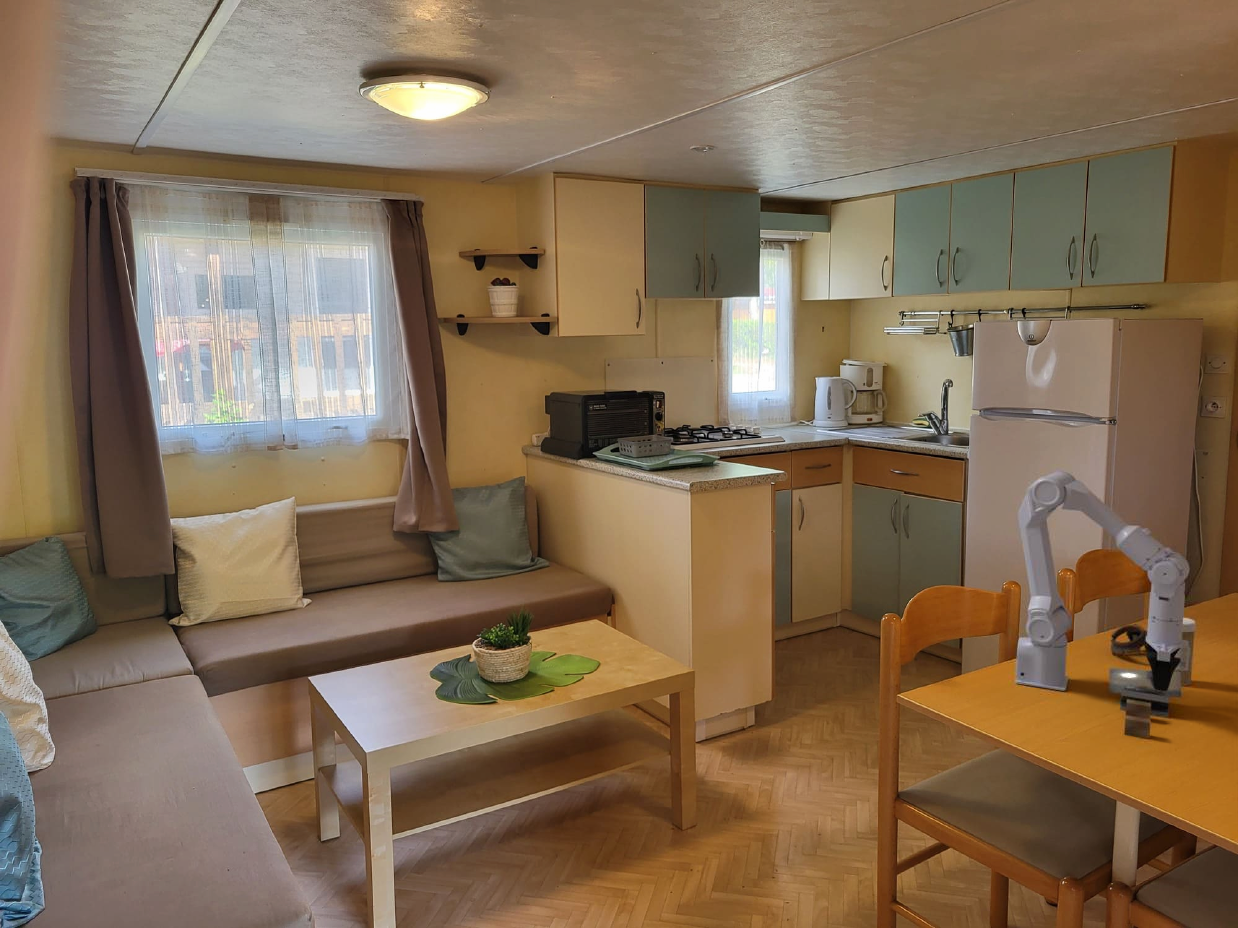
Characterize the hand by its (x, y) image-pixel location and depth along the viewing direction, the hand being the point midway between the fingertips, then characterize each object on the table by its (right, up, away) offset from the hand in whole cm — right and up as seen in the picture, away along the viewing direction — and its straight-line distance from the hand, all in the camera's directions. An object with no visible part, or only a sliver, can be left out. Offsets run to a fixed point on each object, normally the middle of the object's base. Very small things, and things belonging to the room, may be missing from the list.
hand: (1160, 684), depth 179 cm
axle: (-2, -2, +2) cm, 3 cm away
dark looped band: (+11, -1, +28) cm, 30 cm away
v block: (-2, -5, +2) cm, 6 cm away
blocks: (-8, -6, -6) cm, 12 cm away
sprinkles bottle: (+11, -3, +13) cm, 18 cm away
